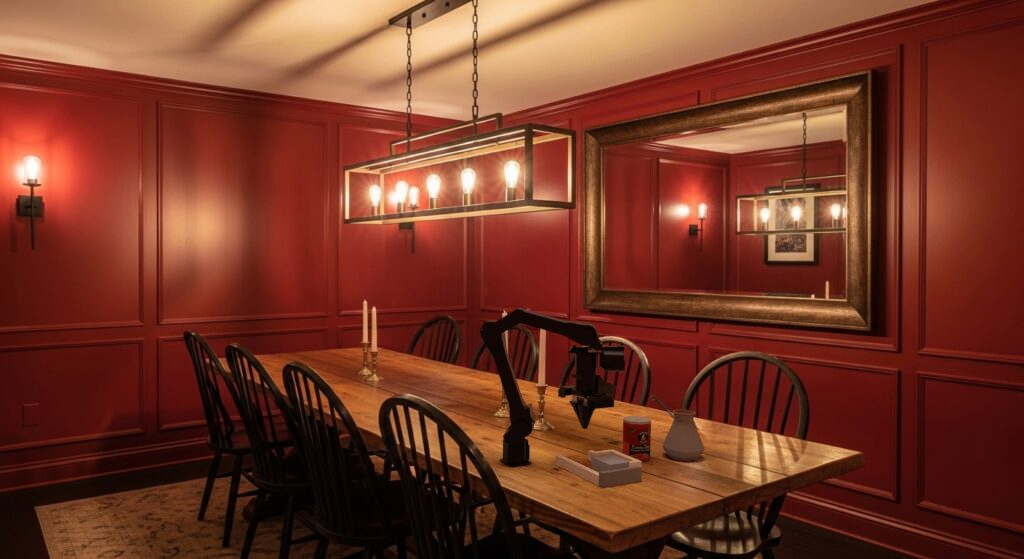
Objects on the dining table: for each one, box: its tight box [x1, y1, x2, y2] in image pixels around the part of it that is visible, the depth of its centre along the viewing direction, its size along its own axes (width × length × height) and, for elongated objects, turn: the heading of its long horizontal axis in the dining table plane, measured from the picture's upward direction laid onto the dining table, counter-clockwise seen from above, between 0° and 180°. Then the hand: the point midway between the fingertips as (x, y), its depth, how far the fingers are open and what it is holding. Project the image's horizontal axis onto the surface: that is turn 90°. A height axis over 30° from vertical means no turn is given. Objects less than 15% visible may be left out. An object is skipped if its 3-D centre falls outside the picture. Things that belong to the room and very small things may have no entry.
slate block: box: [590, 454, 630, 473], centre depth 180 cm, size 6×8×5 cm
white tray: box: [555, 448, 643, 489], centre depth 186 cm, size 18×22×4 cm
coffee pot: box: [649, 394, 705, 462], centre depth 205 cm, size 21×12×15 cm, turn 24°
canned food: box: [622, 415, 652, 462], centre depth 199 cm, size 8×8×11 cm
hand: (584, 428), depth 190 cm, fingers closed
